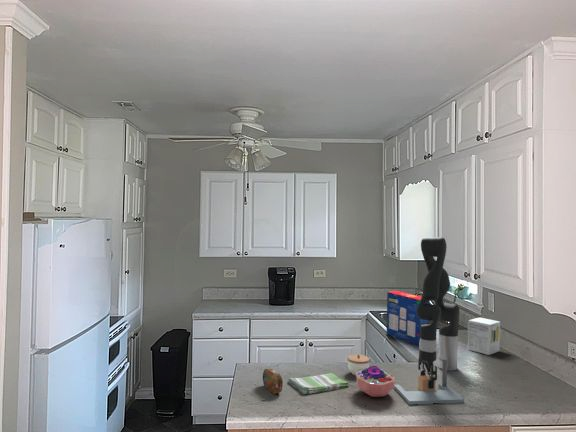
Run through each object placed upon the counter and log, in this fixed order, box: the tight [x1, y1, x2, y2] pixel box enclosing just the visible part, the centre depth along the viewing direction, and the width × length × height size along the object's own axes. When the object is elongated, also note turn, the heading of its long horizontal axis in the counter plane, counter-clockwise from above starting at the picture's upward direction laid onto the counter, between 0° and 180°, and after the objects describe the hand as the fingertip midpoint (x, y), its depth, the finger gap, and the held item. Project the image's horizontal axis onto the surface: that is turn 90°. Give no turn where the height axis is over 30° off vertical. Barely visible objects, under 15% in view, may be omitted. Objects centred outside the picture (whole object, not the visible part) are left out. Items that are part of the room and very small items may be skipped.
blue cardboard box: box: [386, 290, 430, 347], centre depth 286 cm, size 28×8×28 cm, turn 30°
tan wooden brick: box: [417, 374, 437, 391], centre depth 204 cm, size 5×6×6 cm
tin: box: [262, 368, 284, 395], centre depth 201 cm, size 15×3×8 cm, turn 29°
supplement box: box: [467, 317, 501, 356], centre depth 266 cm, size 13×13×18 cm
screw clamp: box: [393, 357, 465, 406], centre depth 200 cm, size 20×24×14 cm
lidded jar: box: [347, 354, 370, 376], centre depth 223 cm, size 11×11×9 cm
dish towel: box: [287, 372, 349, 395], centre depth 208 cm, size 17×23×4 cm
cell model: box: [355, 365, 396, 398], centre depth 199 cm, size 17×20×11 cm
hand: (426, 384), depth 204 cm, fingers open, 8 cm apart
